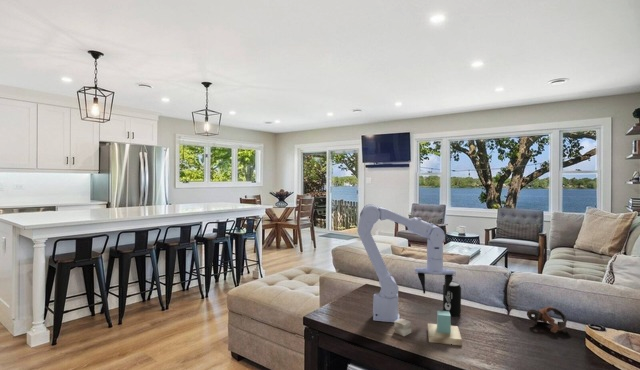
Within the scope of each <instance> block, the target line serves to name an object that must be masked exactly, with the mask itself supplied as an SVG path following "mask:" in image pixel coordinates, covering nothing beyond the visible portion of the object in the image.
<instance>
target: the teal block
mask: <svg viewBox="0 0 640 370" xmlns="http://www.w3.org/2000/svg"><path fill="white" fill-rule="evenodd" d="M451 318H452V316H451V315H450V312H449V311H443V310H436V324H437V330H438V333H446V334H451V326H452V324H451V322H452V319H451Z"/></svg>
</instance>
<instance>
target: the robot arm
mask: <svg viewBox="0 0 640 370" xmlns="http://www.w3.org/2000/svg"><path fill="white" fill-rule="evenodd" d="M358 219H359V220H358V224H357V233H358V236H359V238H360V240H361V244H363V248H364V250H365V252H366V254H367V255H368V258H369V261H370V263H371V265H372V267H373V269H374V270H375V273H376V276H377V278H378V280H379V281H378V284H379V286H380V290H379V292H378V293H374V294H373V298H372V299H373V301H372V303H373V304H372V305H373V306H372V314H373V315H372V316H373V317H372V321H375V322H386V323H394V321H396V320H398V319H400V315H401V314H400V313H399V291H400V290H399V286H398V283H397V282H396V279H395V277H394V276H392V274H391V273H390V272H389V270H388V268H387V265H386V264H385V262H384V258H383V256H382V254H381V253H380V251H379V250H380V249H379V248H378V245H377V244H376V242H375V238H374V237H373V235H372V229H373V228H374V225H375V224H376V223H377V222H378V221H379V220H380V221H385V220H389V221H391V222H394V223H397V224H399V225H403V226H405V227H406V228H407V230H408V232H411V233H413V234H415V235H418V236H419V237H422V238H426V239H427V240H426V241H427V242H426V266H424V267H414V274H415V275H417V277H418V280H419V281H420V282H419V283H420V285H421V288H422V294H424V295H425V294H426V283H425V282H426V276H425V275H436V276H437V275H438V276H444V282H445V283H444V284H445V288H444V294H445V295H447V291H448V288H449V285H450V283H451V282H452V281H453V280H454V278H453V277H456V275H457V274H456V273H457V271H456V269H448V268H444V240H445V238H446V234H445V231H444V230H443V229H442V228H441V227H439V226H437V225H436V224H434V222H433V223H432V222H430V223H429V222H427V221H426V220H422V217H420V216H418V217H415V216H414V217H412V218H408V217H407V216H404V215H402V214H400V213H398V212H395V211H393V210H391V209H389V208H385V207H381V206H378V205H377V206H376V205H374V204H372V203H368V204H366V205H364V206H363V207H362V209H361V212H360V213H359V218H358Z"/></svg>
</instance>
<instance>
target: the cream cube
mask: <svg viewBox="0 0 640 370" xmlns="http://www.w3.org/2000/svg"><path fill="white" fill-rule="evenodd" d="M393 324H394V328H393V329H394V331H393V332H394V333H395V334H397V335H399V336H402V337H406V336H408V335H410V334H411V333H412V322H411V321H410V320H407V319H404V318H402V317H401V318H399V319H398V320H396V321H394V322H393Z"/></svg>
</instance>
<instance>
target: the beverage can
mask: <svg viewBox="0 0 640 370" xmlns="http://www.w3.org/2000/svg"><path fill="white" fill-rule="evenodd" d="M443 283H444V284H443V286H442V288H443V289H442V311H449V312H450V315H451V317H456V316H459V315H461V314H462V288H461V287H462V286H460V285H461V284H460V282H458V281H453V280H452V282H451V283H450V285H449V288H448V291H447V295H445V294H444V288H445V281H444V282H443Z"/></svg>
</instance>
